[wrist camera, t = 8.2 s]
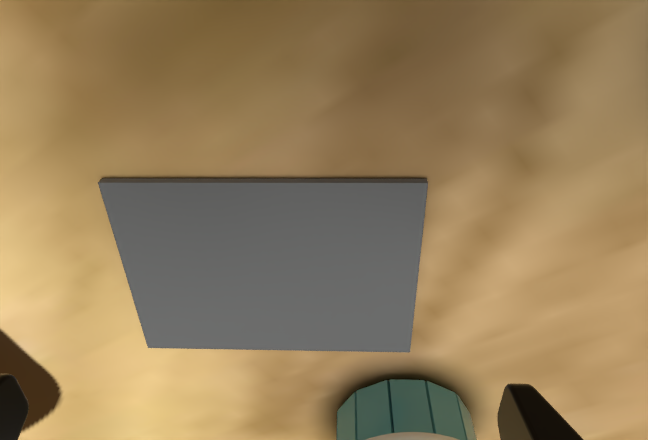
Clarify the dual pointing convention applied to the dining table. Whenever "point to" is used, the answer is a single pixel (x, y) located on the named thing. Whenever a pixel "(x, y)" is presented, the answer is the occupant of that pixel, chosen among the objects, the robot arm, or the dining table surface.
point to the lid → (412, 436)
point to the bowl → (403, 411)
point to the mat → (271, 261)
